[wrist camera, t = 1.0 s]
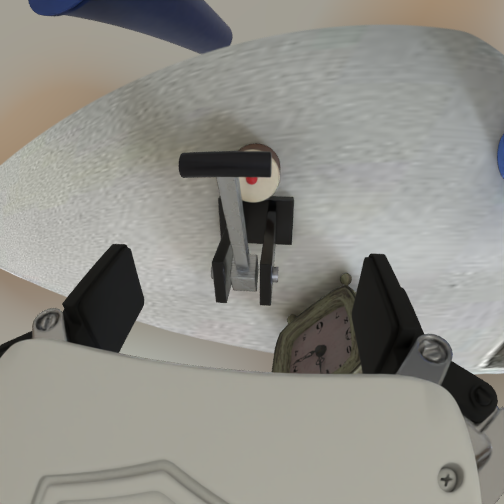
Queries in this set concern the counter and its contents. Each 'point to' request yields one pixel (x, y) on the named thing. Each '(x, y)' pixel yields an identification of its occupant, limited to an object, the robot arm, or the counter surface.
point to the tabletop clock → (321, 337)
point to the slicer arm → (232, 201)
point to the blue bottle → (501, 156)
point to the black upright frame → (258, 231)
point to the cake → (260, 178)
